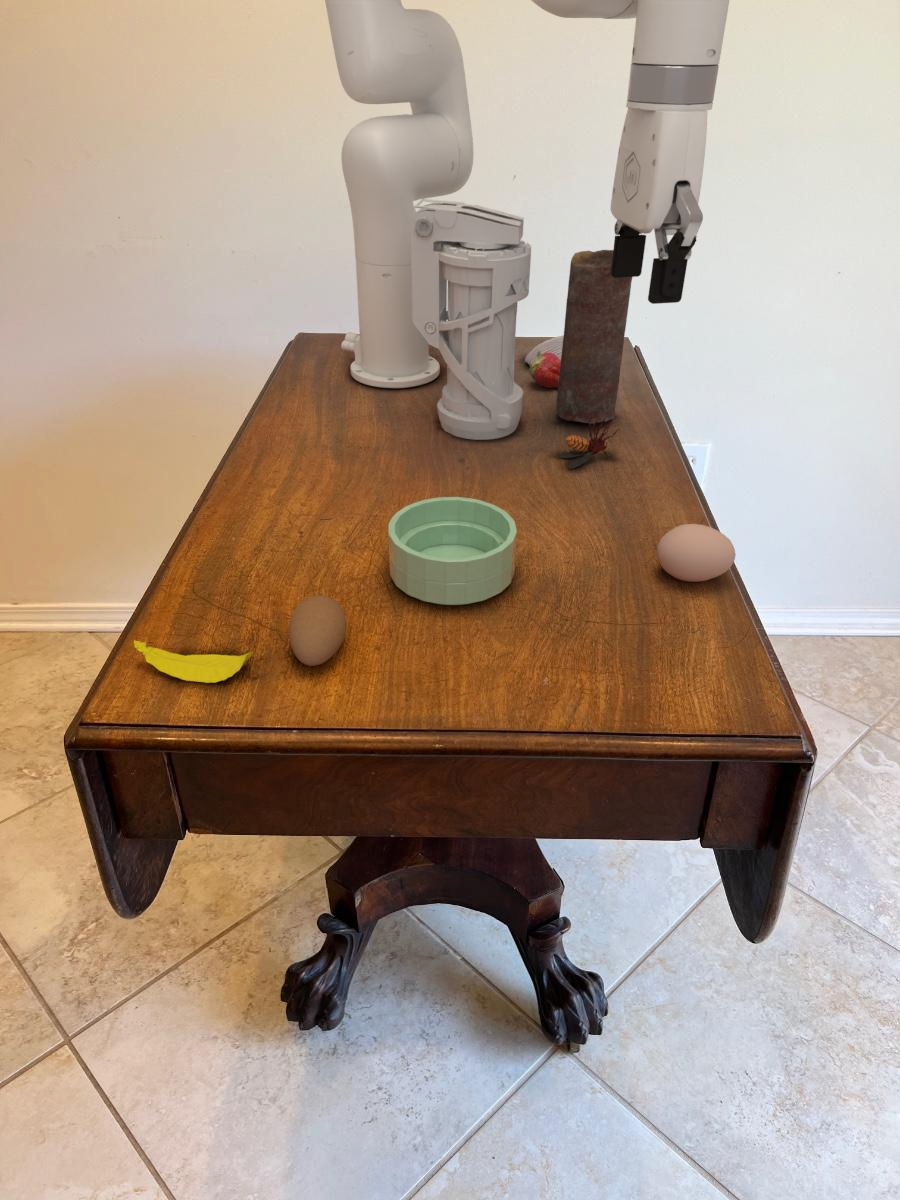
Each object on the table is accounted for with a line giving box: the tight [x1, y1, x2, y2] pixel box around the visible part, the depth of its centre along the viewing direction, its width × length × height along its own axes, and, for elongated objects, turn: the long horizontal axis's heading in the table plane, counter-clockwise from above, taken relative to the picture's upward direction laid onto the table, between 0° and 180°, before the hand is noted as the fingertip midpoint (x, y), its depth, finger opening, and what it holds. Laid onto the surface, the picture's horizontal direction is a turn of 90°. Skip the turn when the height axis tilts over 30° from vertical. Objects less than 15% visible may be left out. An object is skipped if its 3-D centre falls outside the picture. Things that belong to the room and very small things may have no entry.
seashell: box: [524, 335, 564, 368], centre depth 121 cm, size 10×6×10 cm
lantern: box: [411, 198, 532, 441], centre depth 97 cm, size 13×10×25 cm
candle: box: [555, 249, 633, 425], centre depth 99 cm, size 8×7×20 cm
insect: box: [557, 417, 620, 470], centre depth 95 cm, size 4×6×5 cm, turn 106°
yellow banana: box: [133, 639, 255, 684], centre depth 64 cm, size 10×2×3 cm
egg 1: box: [288, 594, 348, 667], centre depth 65 cm, size 4×4×6 cm
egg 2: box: [656, 523, 736, 583], centre depth 74 cm, size 5×5×7 cm
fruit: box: [528, 350, 561, 389], centre depth 113 cm, size 4×6×5 cm
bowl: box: [387, 496, 518, 606], centre depth 75 cm, size 11×11×5 cm
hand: (644, 288), depth 84 cm, fingers open, 9 cm apart
